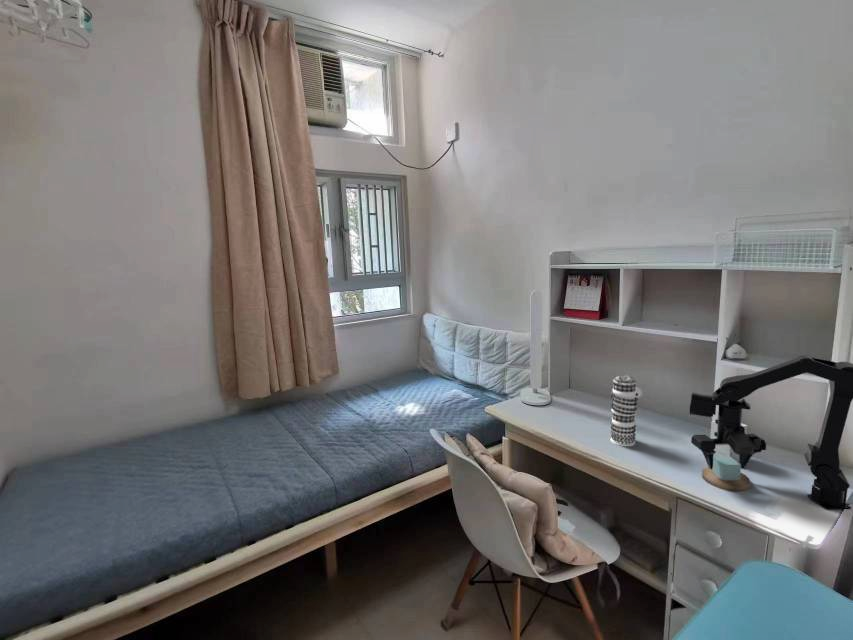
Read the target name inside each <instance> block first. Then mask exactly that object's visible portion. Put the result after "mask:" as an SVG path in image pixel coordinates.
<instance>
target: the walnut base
mask: <svg viewBox="0 0 853 640" xmlns="http://www.w3.org/2000/svg"><path fill="white" fill-rule="evenodd" d="M701 476H702V479H703V480H704V481H705V482H706V483H707V484H710V485H711V486H712V487H715V488H719V489H722V490H725V491H732V492H743V491H747V490H749V489H750V487H751V480H750V478H749V477H748V476H747V475H746V474H745V473H743V472H740V480H721V479H720V478H719V477H718V476H717V475H716V474H714V473H713V468H712V469H710V468H709V466H706V467H704V468H703V469H702V474H701Z"/></svg>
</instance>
